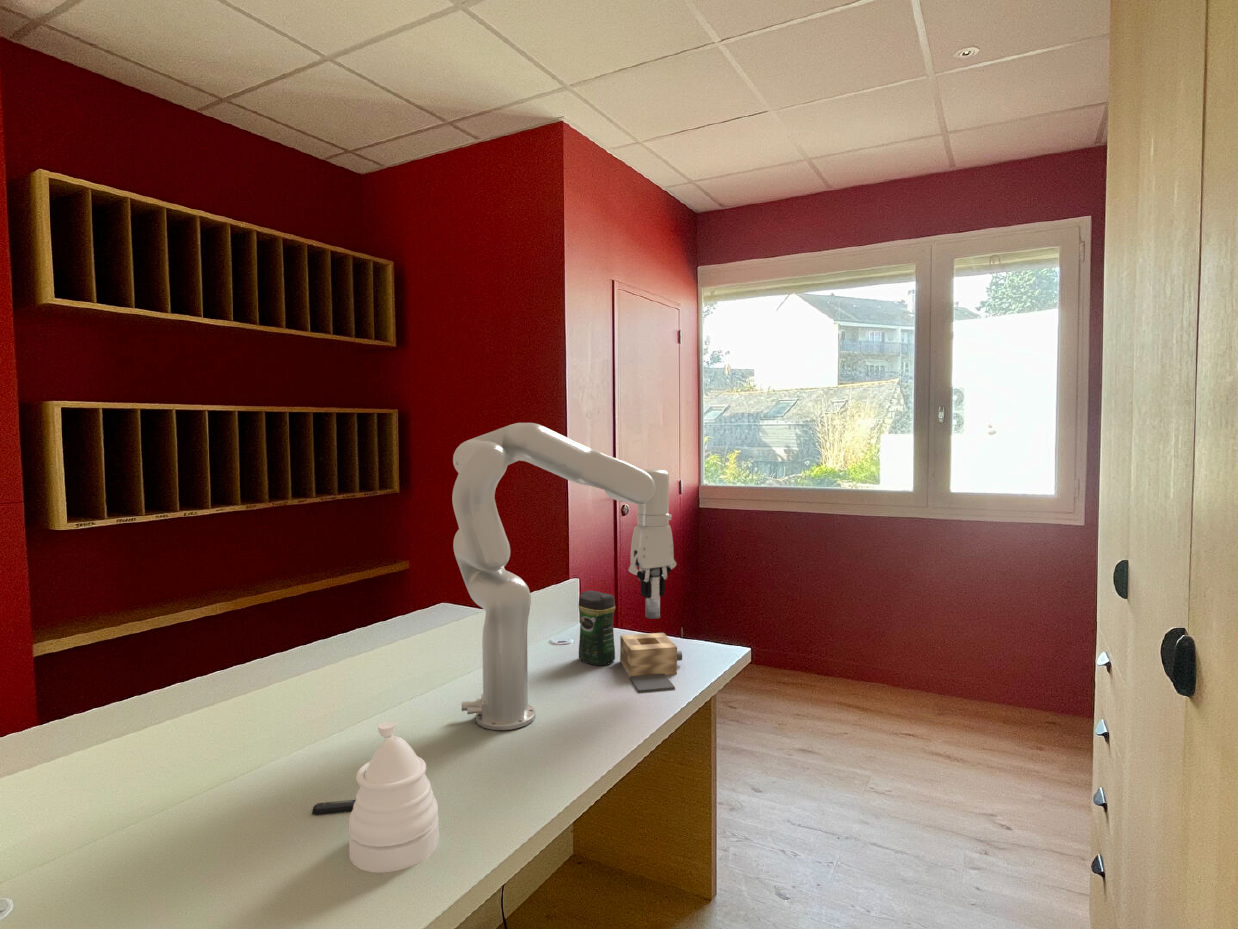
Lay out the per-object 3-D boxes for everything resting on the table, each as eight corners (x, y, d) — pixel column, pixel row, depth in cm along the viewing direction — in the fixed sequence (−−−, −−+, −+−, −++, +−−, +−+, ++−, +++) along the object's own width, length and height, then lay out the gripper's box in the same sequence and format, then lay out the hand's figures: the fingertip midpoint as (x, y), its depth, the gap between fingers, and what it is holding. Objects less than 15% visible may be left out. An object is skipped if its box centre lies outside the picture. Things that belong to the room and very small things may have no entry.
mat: (638, 692, 162) (638, 690, 162) (629, 678, 171) (629, 676, 171) (674, 689, 164) (674, 687, 164) (664, 675, 173) (664, 673, 173)
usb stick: (375, 803, 116) (375, 794, 115) (373, 812, 113) (373, 803, 113) (315, 809, 114) (315, 800, 114) (311, 818, 111) (311, 809, 111)
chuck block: (630, 677, 171) (631, 650, 171) (620, 661, 183) (620, 635, 183) (688, 673, 175) (688, 646, 174) (674, 657, 186) (674, 632, 186)
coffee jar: (620, 660, 184) (620, 592, 182) (599, 668, 178) (600, 598, 176) (593, 652, 190) (594, 586, 189) (573, 660, 184) (573, 591, 183)
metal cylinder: (643, 616, 167) (643, 567, 166) (653, 613, 169) (654, 565, 168) (651, 619, 164) (652, 569, 163) (662, 617, 166) (662, 568, 165)
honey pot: (335, 844, 104) (332, 728, 103) (413, 810, 113) (411, 704, 112) (372, 885, 95) (370, 759, 94) (454, 845, 104) (453, 729, 103)
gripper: (671, 516, 173) (670, 588, 174) (615, 521, 164) (615, 597, 165) (689, 520, 166) (689, 594, 167) (633, 525, 157) (633, 604, 159)
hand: (652, 595), depth 166 cm, fingers closed on metal cylinder, 3 cm apart
